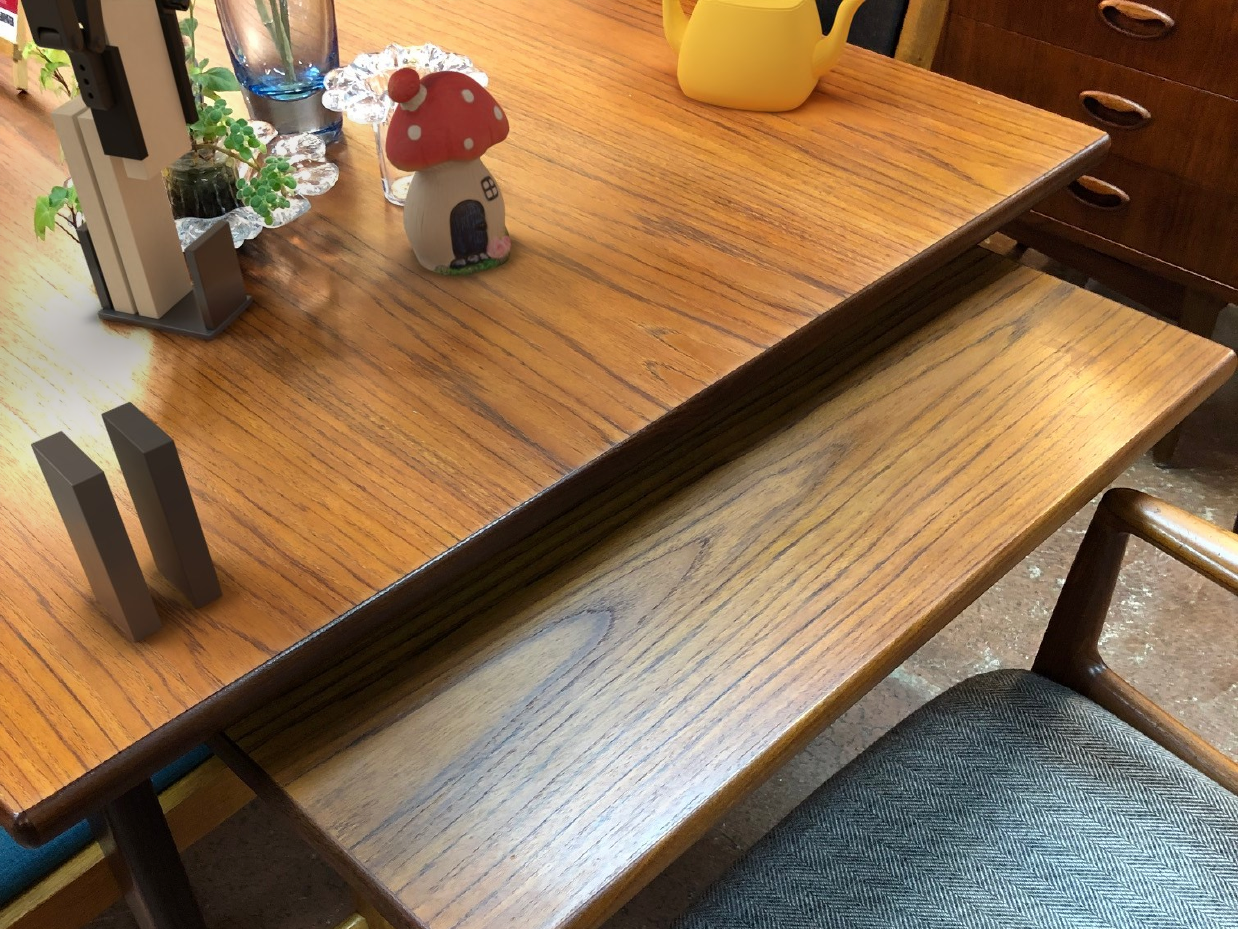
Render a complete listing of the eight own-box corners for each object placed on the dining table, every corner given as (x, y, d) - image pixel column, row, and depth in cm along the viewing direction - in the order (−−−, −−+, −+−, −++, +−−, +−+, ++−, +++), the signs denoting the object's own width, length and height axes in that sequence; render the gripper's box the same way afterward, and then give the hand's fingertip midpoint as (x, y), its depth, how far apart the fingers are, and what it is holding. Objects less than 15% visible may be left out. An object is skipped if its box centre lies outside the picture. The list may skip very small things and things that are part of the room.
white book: (127, 177, 76) (54, -68, 66) (171, 145, 79) (108, -93, 69) (149, 181, 75) (78, -65, 65) (192, 149, 79) (132, -90, 69)
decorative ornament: (411, 291, 89) (384, 85, 78) (390, 251, 93) (361, 50, 82) (530, 268, 91) (520, 66, 80) (503, 230, 95) (490, 33, 85)
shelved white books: (114, 310, 84) (49, 112, 75) (150, 281, 87) (92, 86, 77) (158, 319, 84) (98, 120, 74) (193, 289, 87) (140, 93, 77)
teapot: (879, 73, 119) (898, -46, 111) (845, 134, 109) (863, 7, 101) (670, 43, 124) (675, -73, 117) (619, 99, 114) (620, -25, 106)
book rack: (100, 324, 85) (69, 233, 80) (146, 286, 89) (118, 197, 84) (213, 347, 83) (188, 255, 78) (255, 308, 87) (233, 217, 82)
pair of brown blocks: (138, 649, 63) (71, 485, 55) (99, 607, 65) (29, 443, 57) (225, 602, 65) (174, 439, 57) (185, 562, 67) (130, 400, 60)
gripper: (-35, -293, 53) (119, 208, 69) (191, -345, 65) (276, 91, 81) (-172, -302, 54) (11, 189, 71) (74, -352, 66) (181, 77, 83)
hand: (152, 136), depth 76 cm, fingers closed on white book, 5 cm apart
